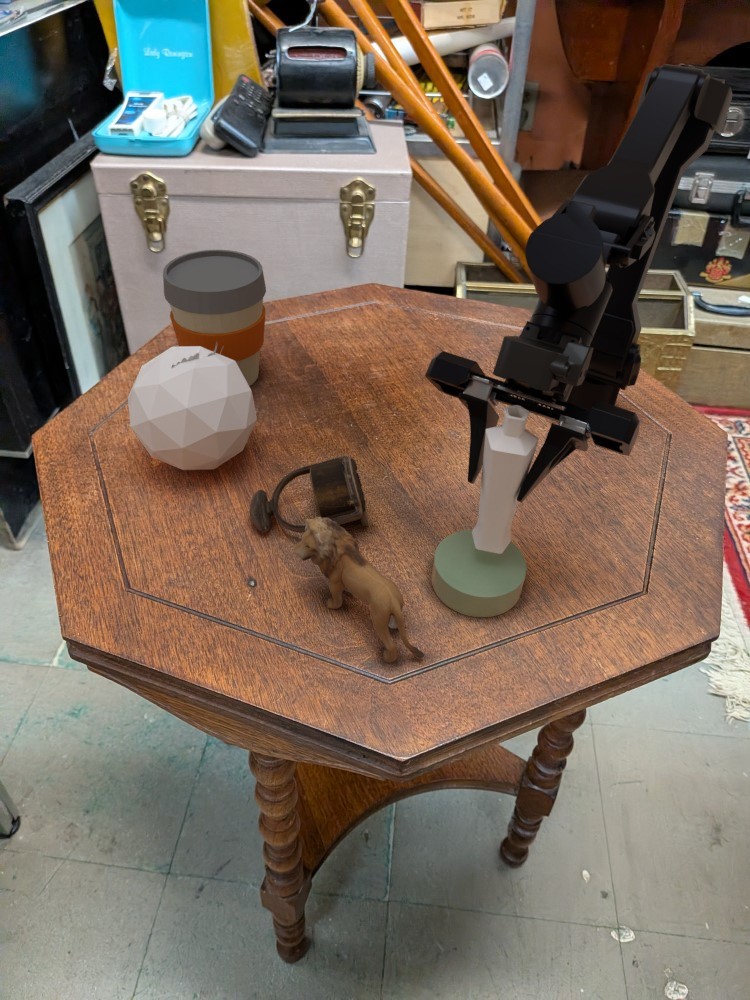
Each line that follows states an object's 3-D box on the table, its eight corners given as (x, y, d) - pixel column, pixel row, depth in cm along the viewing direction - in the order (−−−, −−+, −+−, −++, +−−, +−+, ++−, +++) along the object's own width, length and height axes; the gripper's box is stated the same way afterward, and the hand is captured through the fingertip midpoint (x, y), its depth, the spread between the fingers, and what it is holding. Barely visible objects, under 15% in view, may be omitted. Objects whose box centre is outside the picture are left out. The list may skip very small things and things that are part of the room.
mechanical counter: (363, 524, 70) (385, 447, 76) (236, 494, 71) (268, 419, 77) (358, 561, 76) (379, 487, 82) (241, 533, 77) (270, 461, 82)
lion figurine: (288, 593, 70) (283, 527, 64) (325, 563, 73) (324, 497, 67) (406, 678, 64) (413, 613, 58) (441, 641, 67) (452, 576, 61)
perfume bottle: (479, 516, 72) (502, 390, 62) (519, 533, 71) (549, 407, 61) (458, 543, 69) (478, 415, 59) (499, 562, 68) (528, 434, 58)
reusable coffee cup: (163, 367, 100) (143, 262, 90) (243, 342, 105) (234, 241, 95) (204, 411, 92) (188, 302, 82) (289, 381, 98) (283, 276, 88)
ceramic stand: (527, 561, 75) (532, 541, 73) (513, 627, 68) (519, 607, 66) (442, 541, 76) (445, 520, 74) (421, 603, 70) (424, 583, 68)
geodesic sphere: (204, 354, 91) (140, 297, 78) (299, 386, 86) (249, 332, 73) (152, 461, 89) (77, 421, 76) (247, 500, 85) (185, 466, 71)
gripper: (444, 264, 60) (373, 439, 60) (672, 327, 53) (591, 522, 54) (472, 313, 70) (411, 462, 71) (665, 370, 64) (597, 534, 64)
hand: (494, 491), depth 64 cm, fingers closed on perfume bottle, 4 cm apart
